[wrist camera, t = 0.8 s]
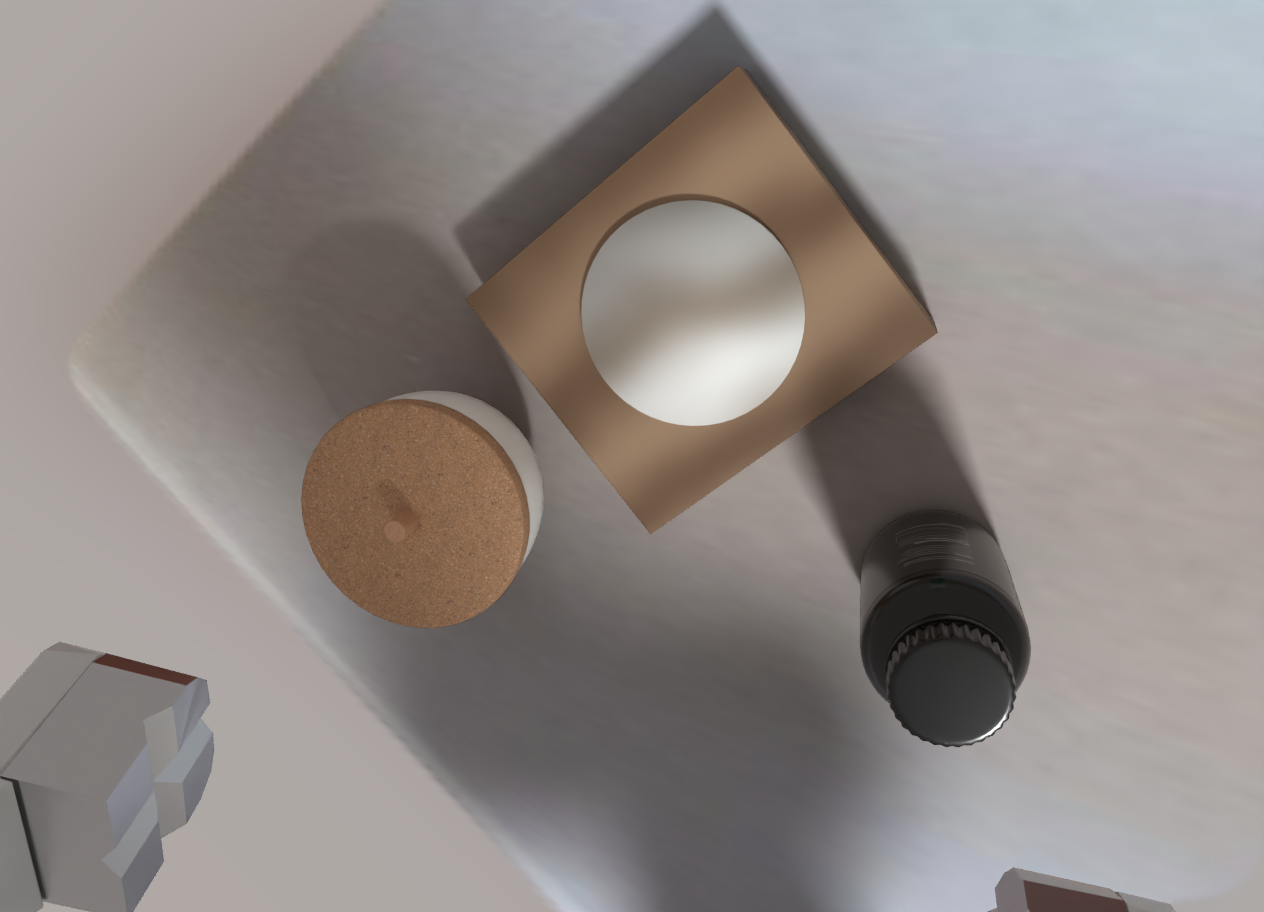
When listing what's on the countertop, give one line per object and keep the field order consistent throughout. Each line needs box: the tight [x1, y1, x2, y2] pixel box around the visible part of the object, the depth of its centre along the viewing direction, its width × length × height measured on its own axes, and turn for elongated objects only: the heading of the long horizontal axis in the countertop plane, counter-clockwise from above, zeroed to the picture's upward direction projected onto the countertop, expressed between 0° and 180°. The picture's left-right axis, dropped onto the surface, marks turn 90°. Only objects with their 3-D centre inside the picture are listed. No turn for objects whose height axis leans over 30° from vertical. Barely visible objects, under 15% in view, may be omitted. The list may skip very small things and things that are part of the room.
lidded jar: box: [301, 391, 544, 628], centre depth 52 cm, size 11×11×9 cm
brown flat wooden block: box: [465, 66, 938, 534], centre depth 50 cm, size 14×16×3 cm
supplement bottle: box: [860, 511, 1031, 747], centre depth 47 cm, size 7×7×12 cm
